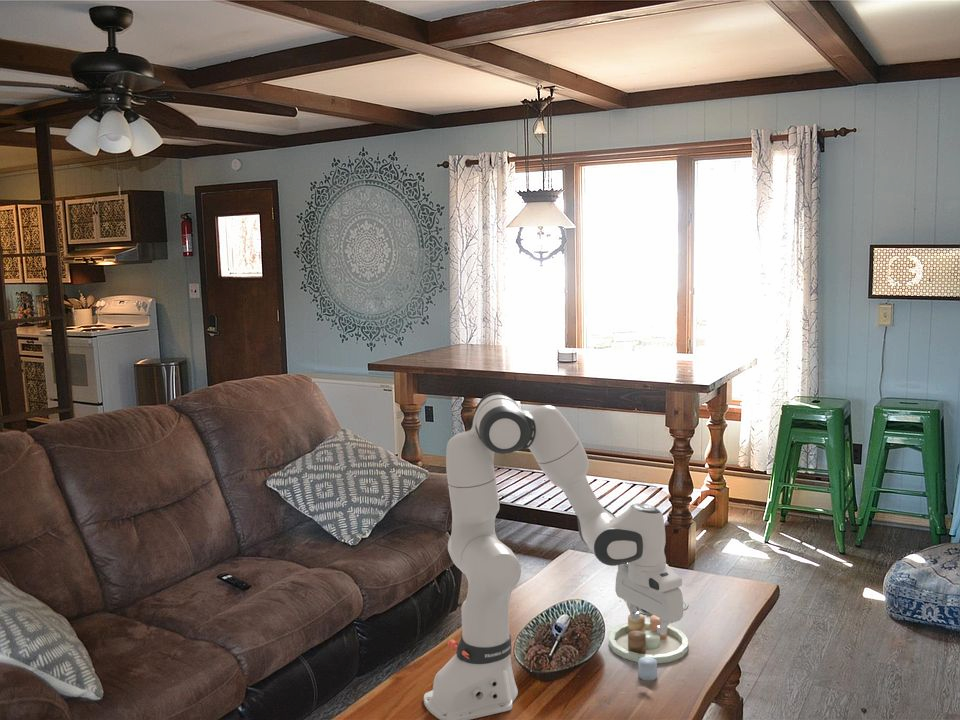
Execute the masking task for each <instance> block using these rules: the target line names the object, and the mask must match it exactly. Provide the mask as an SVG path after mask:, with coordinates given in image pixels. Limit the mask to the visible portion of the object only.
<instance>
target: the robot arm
mask: <svg viewBox="0 0 960 720" xmlns="http://www.w3.org/2000/svg"><path fill="white" fill-rule="evenodd" d="M515 400H516V399H513V397H511V396H510V395H508V394H506V393H504V392H503V393H502V392H492V393H489V394H487V395H485V396H483V397H482V398H481V399H480V401H478V403H477V405H476V407H475V408H474V411H473V415H472V417H471V419H470V421H469V425H468V426H469V427H468V428H469V429H470V430H466V431H462V432H459V433H457V434H455V435H453V436H452V437H451V438H450V439H448V442H447V444H446V450H445V451H446V452H445V454H446V455H445V470H446V478H447V479H446V481H447V485H448V486H447V487H448V493H449V500H450V507H451V508H450V509H451V534H450V535H449V538H448V542H447V551H448V553H449V556H450V558H451V561H452V562H453V565H455V566H456V568H457V569H459V570H460V571H461V572H462V573H463V574H464V575H465V576H466V579H467V582H468V583H467V584H468V585H467V587H468V588H467V594H466V599H465V600H464V601H463V603H462V604H461V607H460V608H461V609H460V610H461V631H462V633H461V634H462V635H461V636H460V639H459V642H457V641H456V640H455V639H450V640H448V642H447V646H448V648H450V649H451V650H452V651H455V654H454V655H453V656H452V657H451V658H450V659H449V660H448V662H446V664H445V665H444V666H443V667H441V669H440V670H438V672H437V673H436V674H435V676H434V678H433V679H434V680H433V686H432V689H431V690H430V691H427V692H425V693H424V694H423V704H424V706H425V708H426V709H427V711H428V712H429V713H431V714H432V716H434V717H436V719H438V720H473V719H478V718H482V717H486V716H492V715H495V714H499V713H504V712H508V711H511V710H512V709H513V703H514V701H515V700H516V698H517V696H518V694H519V693H518V692H519V689H518V687H517V684H516V681H515V676H514V672H513V668H512V666H513V665H512V660H511V659H512V658H511V654H512V650H513V649H512V636H511V633H510V622H509V621H510V620H509V618H510V617H509V609H510V608H509V605H510V604H509V603H510V599H511V595H512V590H513V589H515V587H516V586H517V585H518V583H519V581H520V578H521V576H522V568H521V566H522V565H521V563H520V561H519V560H518V558H517V556H516V555H515V553H514V552H513V551H512V549H511V548H510V547H508V546H507V545H506V544H504V543H503V542H502V541H500V540H499V539H498V537H497V534H496V531H495V526H496V525H495V523H496V516H497V514H498V513H499V511H500V498H499V493H498V487H497V485H498V484H497V477H496V472H495V471H496V470H495V465H494V464H495V461H494V460H495V453H496V454H500V455H501V454H502V455H506V454H511V453H514V452H517V451H520V450H525V449H529V451H530V452H531V454H532V456H533V458H534V459H535V461H536V463H537V464H538V467H540V469H541V470H542V472H543V473H544V474H545V476H546V477H547V478H548V480H549V481H550V482H551V484H553V485H554V486H556V487H558V488H560V489H561V491H562V492H563V493H564V495H565V497H566V498H567V500H568V502H569V504H570V506H571V508H572V510H573V511H574V513H575V515H576V517H577V518H576V519H577V528H578V535H579V537H580V539H581V541H582V542H583V544H585V545H586V547H587V548H588V549H590V551H591V553H592V554H593V555H594V556H595V557H596V559H598V561H600V563H601V564H604V565H606V566H612V567H615V566H617V572H616V576H615V590H614V591H615V593H616V595H617V598H620V599H622V600H623V601H624V600H625V601H626V602H627V603H626V606H627V609H628V611H629V615H630V618H631V619H632V620H634V621H636V620H639V619H640V616H639V615H641V614H640V613H639V612H638V611H637V608H636V606H637V607H639V608H641V609H643V610H645V611H647V612H649V613H651V614H653V615H655V616H657V617H659V618H660V622H662V623H661V625H660V626H657V633H659V634H660V635H665V634H666V633H667V626H668V625H670V624H673V623H677V622H679V621H681V620H682V618H683V617H684V611H683V608H684V603H683V600H684V597H683V593H682V590H681V589H680V587H682V586H683V580H682V577H680V575H679V574H677V572H675V571H674V570H673V569H672V568H671V567H670V566H669V564H667V558H666V554H665V546H666V543H667V541H666V526H665V519H664V516H663V513H662V512H661V511H660V510H659V509H658V508H657V507H655V506H653V505H650V504H647V503H633V504H630V506H629V507H628V508H627V509H626V511H624V512H623V513H622V514H620V515H618V516H616V515H615V514H614V513H613V512H611V511H610V509H608V508H606V507H605V506H604V505H602V504H601V503H600V501H599V500H598V498H597V496H596V494H595V493H594V491H593V489H592V487H591V484H589V481H588V479H587V474H588V471H589V469H590V462H589V458H588V454H587V452H586V450H585V447H584V446H583V443H582V442H581V440H580V438H579V436H578V435H577V433H576V432H575V430H574V428H573V427H572V425H571V424H570V422H569V420H568V419H566V417H565V416H564V415H563V414H562V413H561V411H560V410H559V409H558V408H556V407H555V406H553V405H550V404H544V405H543V404H542V405H539V406H536V407H534V408H532V409H531V410H530V409H529V410H526V409H525V410H524V409H522V408H521V407H520V406H519V404H518V403H517V402H516V401H515ZM625 601H624V602H625Z"/></svg>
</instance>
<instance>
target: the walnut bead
mask: <svg viewBox="0 0 960 720" xmlns="http://www.w3.org/2000/svg"><path fill="white" fill-rule="evenodd" d="M628 651H632V652H635V653H639V654H646V634H645V633H644V632H642V631H630V632H629V633H628Z"/></svg>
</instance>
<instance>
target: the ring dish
mask: <svg viewBox="0 0 960 720" xmlns="http://www.w3.org/2000/svg"><path fill="white" fill-rule="evenodd" d="M642 632H644V633H645V634H646V654H639V653H635V652H632V651H628V622H627V623H624V624H621V625H618V626H616V627H615V628H614V629H612V630H611V631H610V633H609V636H608V646H609V648H610V649H611V650H612V652H613V653H615V655H618V656H620V657H621V658H622V659H626V660H629V661H632V662H635V663H638V660H639V659H640V658H642V657H652V658H654V659H656V661H657V664H665V663H671V662H673V661H676V660H678V659H682V658H683V657H684V656H685V655H686V654H687V653H688V652H689V651H688V650H689V639H688V636H686V634H685V633H684V632H683V631H682V630H680V629H678V628H676V627H674V626H673V625H670V624H669V625H668V626H667V638H666V639H663V640H660V635H659V634H658V633H656V632H654V631H650V621H645V631H642Z"/></svg>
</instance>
